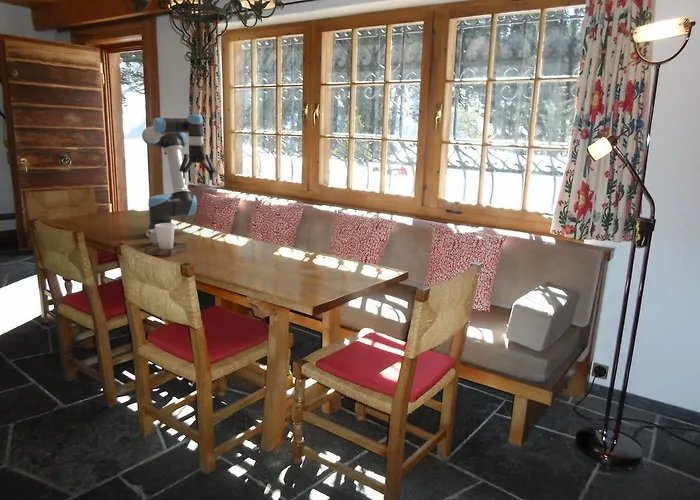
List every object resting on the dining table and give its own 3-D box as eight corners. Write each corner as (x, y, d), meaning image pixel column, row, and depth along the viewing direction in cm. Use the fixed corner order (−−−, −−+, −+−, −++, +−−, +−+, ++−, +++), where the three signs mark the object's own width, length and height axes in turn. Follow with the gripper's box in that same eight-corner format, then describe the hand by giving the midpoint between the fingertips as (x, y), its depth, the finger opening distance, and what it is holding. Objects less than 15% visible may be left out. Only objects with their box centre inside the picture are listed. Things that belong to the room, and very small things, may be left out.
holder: (145, 254, 269) (144, 247, 268) (161, 247, 282) (161, 241, 282) (171, 256, 265) (170, 249, 265) (186, 249, 279) (186, 243, 278)
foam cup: (164, 252, 267) (163, 227, 264) (152, 250, 272) (150, 225, 269) (179, 249, 275) (178, 224, 272) (167, 246, 280) (166, 222, 277)
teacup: (175, 243, 293) (174, 229, 291) (161, 247, 284) (160, 232, 282) (156, 240, 299) (155, 226, 297) (141, 244, 289) (140, 229, 287)
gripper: (221, 145, 283) (223, 185, 288) (178, 144, 288) (181, 183, 293) (214, 145, 276) (216, 187, 280) (171, 144, 281) (173, 185, 286)
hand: (198, 185), depth 287 cm, fingers open, 13 cm apart
